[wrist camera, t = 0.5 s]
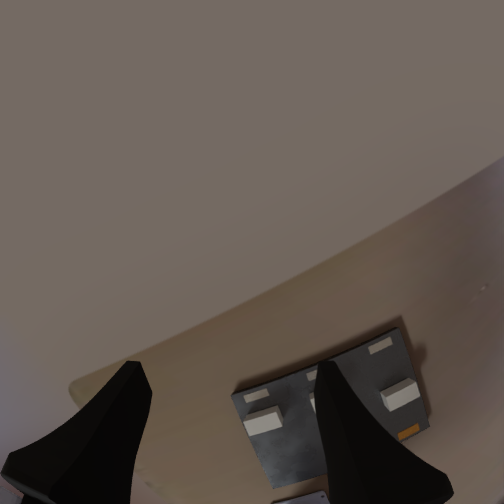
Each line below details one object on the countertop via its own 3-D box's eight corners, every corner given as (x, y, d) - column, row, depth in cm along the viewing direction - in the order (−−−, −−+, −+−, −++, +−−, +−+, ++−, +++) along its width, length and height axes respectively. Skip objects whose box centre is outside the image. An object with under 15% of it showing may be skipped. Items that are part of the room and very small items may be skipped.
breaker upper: (283, 418, 33) (282, 426, 30) (252, 428, 33) (249, 436, 31) (277, 405, 33) (276, 411, 31) (246, 414, 34) (242, 421, 31)
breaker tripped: (412, 390, 31) (420, 396, 29) (384, 405, 31) (390, 411, 29) (408, 377, 32) (416, 381, 29) (379, 392, 32) (385, 397, 29)
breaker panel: (425, 423, 31) (430, 426, 30) (274, 483, 33) (273, 489, 31) (395, 327, 35) (399, 327, 33) (233, 392, 36) (230, 395, 35)
